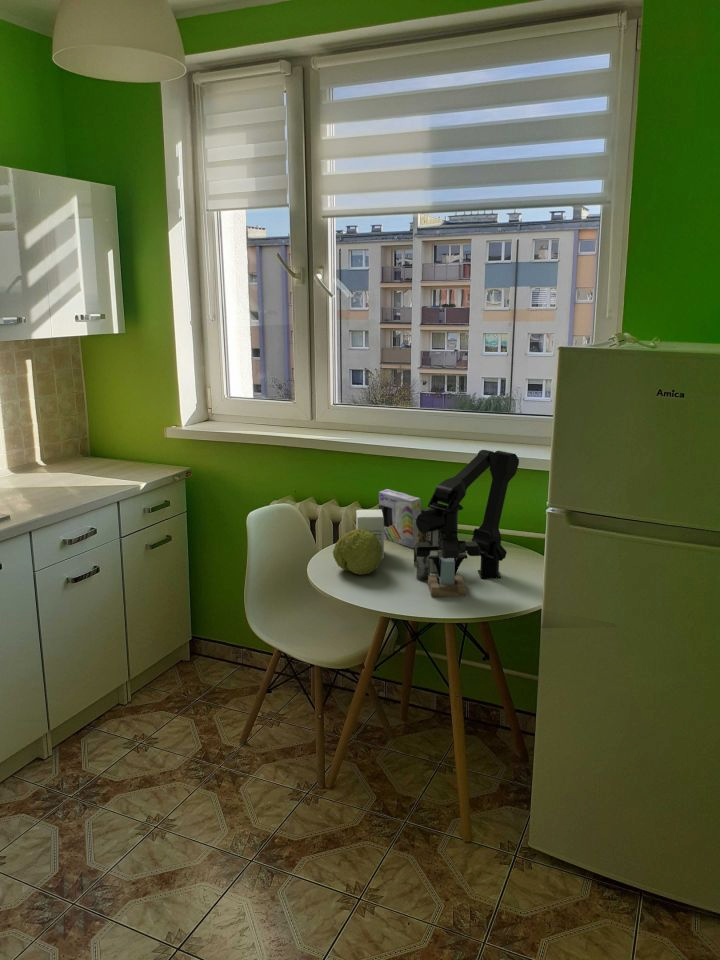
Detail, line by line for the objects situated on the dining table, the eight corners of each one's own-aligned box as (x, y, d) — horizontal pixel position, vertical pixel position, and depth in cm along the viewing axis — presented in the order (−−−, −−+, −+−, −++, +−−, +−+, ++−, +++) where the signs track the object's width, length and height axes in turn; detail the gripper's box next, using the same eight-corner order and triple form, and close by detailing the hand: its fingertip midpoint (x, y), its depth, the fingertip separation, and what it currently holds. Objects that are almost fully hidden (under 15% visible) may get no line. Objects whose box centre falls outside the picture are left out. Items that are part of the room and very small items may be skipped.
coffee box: (446, 568, 249) (447, 520, 245) (432, 573, 245) (433, 524, 241) (427, 561, 256) (427, 514, 252) (412, 565, 252) (413, 518, 248)
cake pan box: (377, 536, 281) (377, 489, 277) (387, 533, 284) (387, 487, 280) (412, 550, 267) (412, 500, 262) (423, 547, 270) (423, 498, 265)
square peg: (439, 582, 232) (439, 557, 230) (452, 582, 232) (453, 557, 231) (440, 587, 229) (441, 562, 227) (454, 587, 229) (454, 562, 227)
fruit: (324, 576, 243) (322, 529, 246) (352, 580, 254) (350, 535, 258) (366, 570, 233) (363, 521, 237) (392, 574, 244) (390, 527, 248)
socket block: (428, 584, 236) (428, 575, 235) (460, 583, 236) (461, 574, 235) (431, 597, 226) (431, 587, 225) (465, 596, 226) (465, 587, 225)
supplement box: (356, 551, 266) (355, 509, 262) (382, 550, 266) (382, 508, 263) (357, 560, 257) (356, 517, 253) (384, 559, 257) (384, 516, 254)
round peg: (415, 576, 243) (416, 552, 241) (429, 575, 243) (429, 551, 241) (417, 581, 238) (417, 556, 237) (430, 580, 239) (431, 556, 237)
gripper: (418, 535, 218) (417, 587, 222) (484, 534, 218) (482, 586, 222) (415, 523, 229) (414, 573, 233) (477, 522, 229) (476, 572, 233)
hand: (446, 576), depth 230 cm, fingers closed on square peg, 4 cm apart
